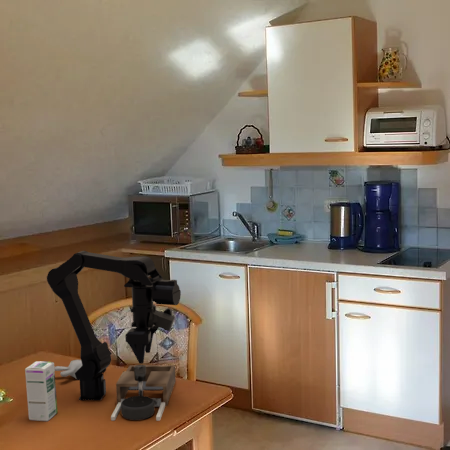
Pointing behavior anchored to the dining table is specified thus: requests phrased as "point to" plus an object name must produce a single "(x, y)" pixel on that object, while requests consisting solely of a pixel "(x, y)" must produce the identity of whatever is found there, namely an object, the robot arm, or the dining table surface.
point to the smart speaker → (137, 407)
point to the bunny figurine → (69, 368)
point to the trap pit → (146, 387)
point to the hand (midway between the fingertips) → (144, 357)
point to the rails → (120, 408)
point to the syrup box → (41, 391)
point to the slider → (140, 377)
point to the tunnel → (148, 380)
